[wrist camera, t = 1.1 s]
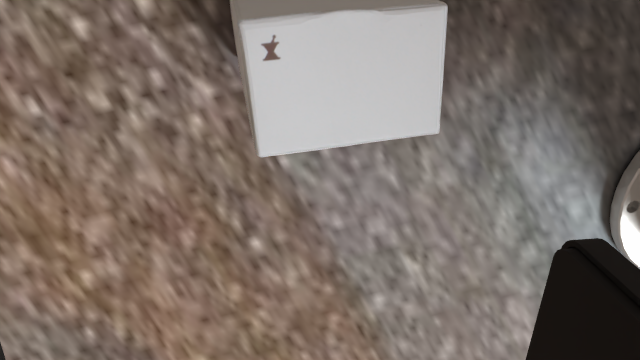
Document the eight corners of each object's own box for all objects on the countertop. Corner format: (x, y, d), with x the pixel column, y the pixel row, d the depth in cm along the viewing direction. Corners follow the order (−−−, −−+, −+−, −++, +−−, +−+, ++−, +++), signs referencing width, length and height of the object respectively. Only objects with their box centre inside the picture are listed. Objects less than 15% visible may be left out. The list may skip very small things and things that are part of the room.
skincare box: (237, 63, 26) (250, 161, 16) (225, -28, 25) (231, 15, 14) (356, 51, 27) (444, 138, 17) (354, -39, 25) (451, -4, 15)
